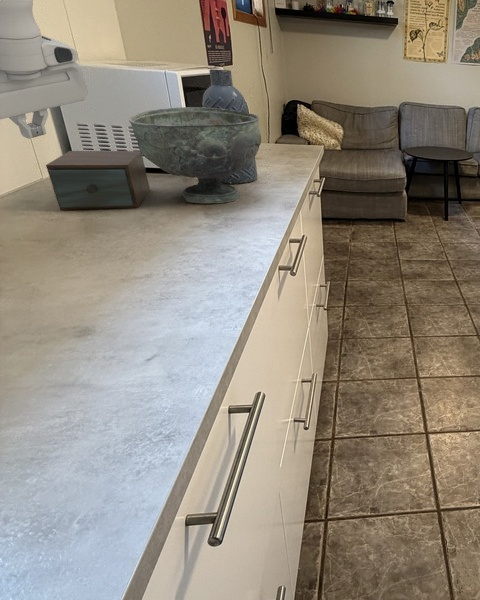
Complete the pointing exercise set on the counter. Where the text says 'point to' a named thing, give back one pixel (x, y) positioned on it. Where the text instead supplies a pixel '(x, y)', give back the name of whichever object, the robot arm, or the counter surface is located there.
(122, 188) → the drawer
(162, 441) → the counter surface
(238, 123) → the decorative bowl
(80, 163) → the cabinet
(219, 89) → the vase
